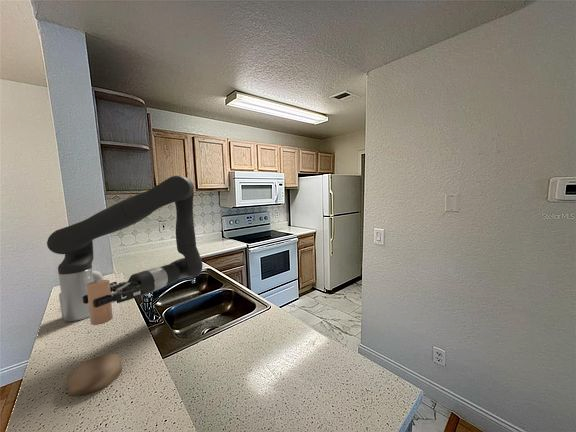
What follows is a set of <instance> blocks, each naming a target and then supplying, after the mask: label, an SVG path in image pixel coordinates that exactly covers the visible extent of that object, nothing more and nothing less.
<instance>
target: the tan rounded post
mask: <svg viewBox="0 0 576 432" xmlns="http://www.w3.org/2000/svg"><path fill="white" fill-rule="evenodd" d="M87 294H88V303H89V313H90V317H89V321H90V322H89V323H90V325H91V326H99V325H103V324H106V323H108V322H110V321H112V319H114V317H113V316H114V315H113V305H112V303H111V302H110V303H108V304H105V305H102V306H100V307H97V308H95V307H93V300H94V299H97V298H100V297H103V296H106V295H110V294H111V293H110V280H109V279H103V280H99V281H94V282H91V283H89V284H87Z"/></svg>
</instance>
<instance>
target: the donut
mask: <svg viewBox="0 0 576 432" xmlns="http://www.w3.org/2000/svg"><path fill="white" fill-rule="evenodd" d="M92 272H93V278H94V279H95V281H99V280H104V277H103V274H102V273H101V272H99V271H98V270H92Z"/></svg>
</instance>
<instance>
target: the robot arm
mask: <svg viewBox="0 0 576 432" xmlns="http://www.w3.org/2000/svg"><path fill="white" fill-rule="evenodd" d="M194 191H195V185H194V183H193V182H192V180H191V179H190V178H188V177H186V176H181V175H173V176H172V175H171V176H169V177H168V178H166V179H165V180H163V181H162V182H160V183H159V184H156V185H155V186H153V187H152V188H150V189H148V190H146V191H143V192H140V193H137V194H135V195H133V196H130V197H128V198H125V199H123V200H120V201H119V202H117V203H114V204H113V205H110V206H108V207H107V208H104V209H102V210H101V211H99V212H96V213H95V214H92V216H90V217H88V218H86V219H84V220H82V221H79V222H77V223H74V224H71V225H68V226H66V227H62V228H59V229H56V230H55V231H53V232H52V233H51V234H50V235H49V236H48V238H47V241H46V246H47V249H49V251H50V252H52V253H54V254H57V255H64V258H63V260H62V261H61V262H60V264H59V265H58V267H57V272H58V280H59V288H60V293H59V294H58V297H59V304H60V312H61V319H63V320H64V321H65V322H77V321H81V320H84V319H86V318H90V313H89V303H88V294H87V284H89V283H91V282H94V280H93V272H92V271H93V261H94V244H93V243H94V242H93V241H94V240H95V239H99V238H101V237H103V236H107V235H109V234H113V233H116V232H118V231H121V230H124V229H126V228H128V227H131V226H132V225H134V224H136V223H140V222H141V221H143V220H144V219H145V218H147V217H149V216H150V215H151V214H152V213H153V212H155V211H157V210H158V209H160V208H163V207H164V206H167V205H170V204H172V203H174V205H175V210H176V211H175V213H176V219H175V241H176V249H177V252H178V253H179V254H181V255H182V256H183V257H182V258H178V259H176V260H174V261H171V263H169V264H165V265H162V266H159V267H152V268H150V269H146V270H143V271H140V272H136V273H133V274H132V275H130V276H129V279H128V280H127V281H121V282H118V281H113V282H111V283H110V293H111V294H110V295H106V296H103V297H100V298H97V299H94V300H93V307H95V308H97V307H100V306H102V305H105V304H108V303H110V302H111V303H117V304H121V303H123V302H127V301H130V300H133V299H137V298H139V297H143V296H145V295H148V294H150V293H152V292H156V291H158V290H160V289H162V288H164V287H166V286H169V285H172V284H174V283H176V282H177V281H178V280H179V279H180V278H181V277H184V276H185V277H189V278H195V277H198V276H199V275H200V274H201V273H202V271H203V259H202V257H201V255H200V252H199V250H198V248H197V240H196V239H197V238H196V233H195V232H196V230H195V223H194V209H193V208H194Z"/></svg>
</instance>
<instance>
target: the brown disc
mask: <svg viewBox="0 0 576 432" xmlns="http://www.w3.org/2000/svg"><path fill="white" fill-rule="evenodd" d="M122 370H123V366H122V358H121V356H120V355H118V354H113V353H111V354H103V355H99V356H96V357H94V358H91V359H89V360H87V361H84V362H83V363H81V364H80V365H78V366H76V367H75V368H74V369H73V370H71V372H70V373H69V374H68V375H67V377H66V388H67V393H68V394H69V395H70V396H73V397H81V396H82V397H83V396H87V395H91V394H93V393H97V392H98V391H100V390H102V389H103V388H107V387H108V386H109V385H111V383H113V382H114V381H115V380H116V379H118V378H119V376H120V375H121V373H122Z"/></svg>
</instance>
